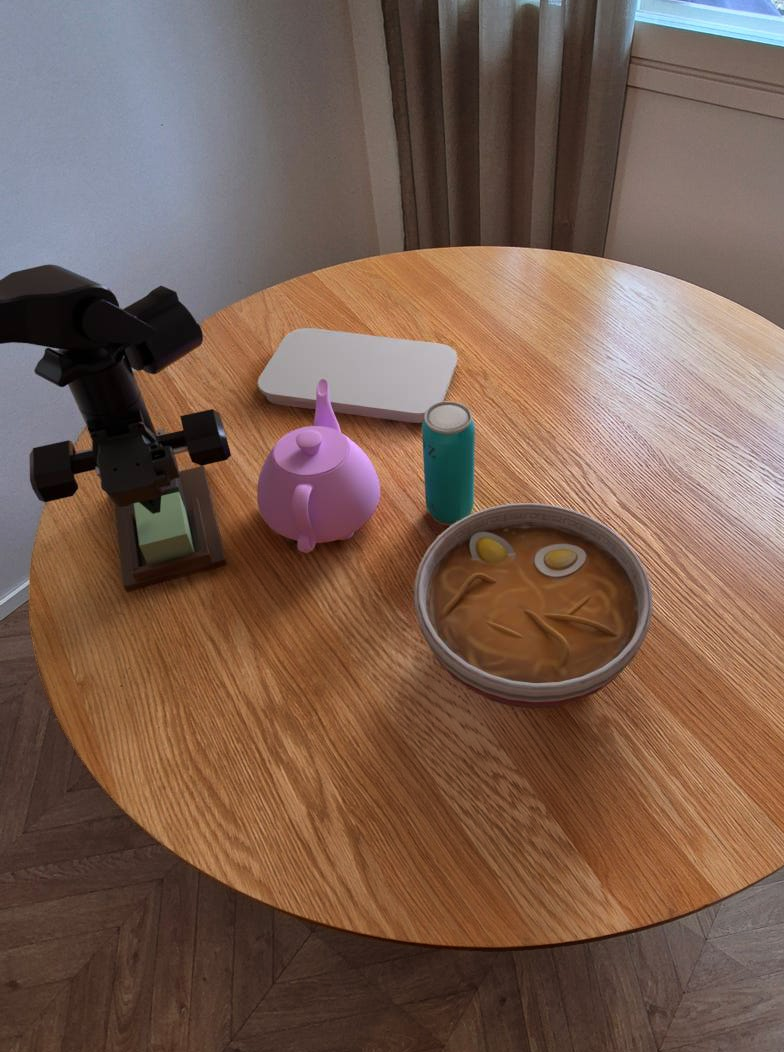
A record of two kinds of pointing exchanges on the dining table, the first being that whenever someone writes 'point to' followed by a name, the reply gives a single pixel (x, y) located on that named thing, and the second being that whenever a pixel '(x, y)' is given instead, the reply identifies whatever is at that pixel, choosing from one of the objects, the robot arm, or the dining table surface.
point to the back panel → (202, 529)
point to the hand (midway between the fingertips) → (156, 510)
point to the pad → (164, 530)
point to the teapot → (317, 482)
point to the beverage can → (448, 461)
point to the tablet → (359, 373)
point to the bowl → (532, 604)
